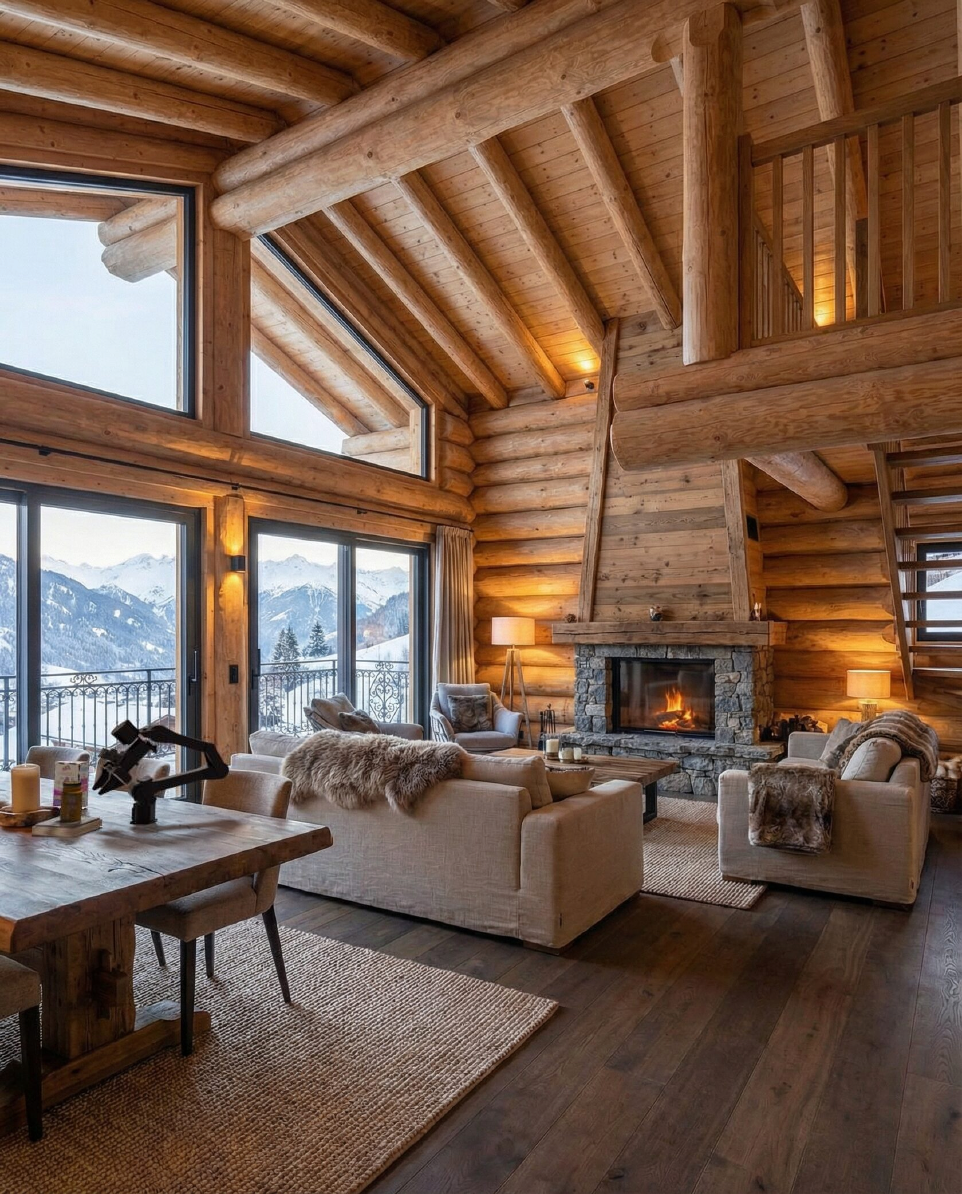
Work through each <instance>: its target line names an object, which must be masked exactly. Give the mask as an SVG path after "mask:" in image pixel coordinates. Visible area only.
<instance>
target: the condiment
mask: <svg viewBox="0 0 962 1194" xmlns="http://www.w3.org/2000/svg"><path fill="white" fill-rule="evenodd" d="M81 784H82V782H80V781H68V782H64V783H63V791H62V792H61V809H59V811H60V813H59V817H60V819H59V820H57V821H55V822H53V823H54V824H77V823H78V822H80V821H82V820H83V819H85V818H86V817H87V816H83V817H82V818H81V816H82V812H83V809H82V794H83V791H82V790H81V788H82V786H81Z"/></svg>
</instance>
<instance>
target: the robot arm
mask: <svg viewBox="0 0 962 1194" xmlns="http://www.w3.org/2000/svg"><path fill="white" fill-rule="evenodd" d="M110 735H111V736H112V737H114V738H115V740H117V741H118V742H119V743H120V744H121V745H122V746H126V745H128V746H129V747H128V748H126V749H125V750H121V751H120V752H118V749H115V748H114V747H111V748H110V749H108V748H106V747H102V748H101V750H100V752H99V754H98V758H100V759H102V760H104V761H103V762H102V763H101V764H100V765H101V766H100V775H99V776H98V778H97V779H96V781H95V783H94V784H93V786H92V787H91V790H92V791H97V790H98V789H100V790H98V792H97V794H98V795H99V796H103V795H105V794H107V793H111V792H112V791H114V790H116V789H118V788H121V787H124V786H125V785H128V786H127V793H128V795H129V796H130V797H131V798H133V801H134V803H133V804H132V807H131V817H130V819H131V820H130V821H129V824H138V825H139V824H143V825H149V824H151V823H153V822H156V821H158V818H156V808H157V807H156V806H157V805H156V804H157V803H156V802H157V800H158V798H157V796H155V795H156V794H158V793H160V792H163V791H165V790H170V789H173V788H177V787H181V786H185V785H189V784H193V783H197V782H199V781H216V780H223V779H226V777H227V776H228V775H229V772H230V767H229V764H227V763H226V762H224V760H223V758H222V756H221V754H220V753H219V750H218V749H217V748H216V744H215V743H213V742H210V741H205V740H201V739H198V738H194V737H191V736H188V735H186V734H180V733H178V732H176V731H174V730H172V729H170V728H168V727H166V726H163V725H162V724H159V723H151V724H149V725H148V726H147V727H142V728H138V727H137V726H135V725H134V724H133V723H132V721H131V720H130V719H128V718H126V719H125V720H124V721H122V722H120V724H117V725H116V726H115V727H114V728H113V729H112V730H111V732H110ZM140 736H141V737H140ZM142 737H143V738H145V739H143V738H142ZM149 740H150V741H149ZM151 741H152V742H154V743H159V744H172V745H177V746H181V747H183V748H188V749H191V750H194V751H198V752H202V754H203V756H204V759H205V762H206V763H205V764H203V765H202V766H199V767H198V768H195V769H190V770H187V771H184V772H179V773H176V774H171V775H167V776H164V777H160V778H153V777H152V776H151V775H149V774H147V775H144V776H142V777H135V779H134V780H133V778H132V777H133V775H132V774H130V773H129V772H130V771H132V770H133V769H134V767H137V766H139V765H140V761H142V760H143V759H144V758H145V757H146V755H148V754H149V752H152V753H153V754H158V749H157V748H158V745H156V744H152V742H151Z"/></svg>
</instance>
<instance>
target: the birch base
mask: <svg viewBox="0 0 962 1194" xmlns="http://www.w3.org/2000/svg"><path fill="white" fill-rule="evenodd" d="M82 817H84V816H81V818H82ZM85 817H86V818H85V819H83V820H82V821H80V822H78V823H77V824H54V823H53V822H55V821H57V820H59V819H60V816H57V817H54V818H52V819H48V820H47V819H46V820H45V821H41V822H38V823H36V824H35V825H33V826H32V829H31V830H32V831H31V834H32V835H34V836H47V837H48V836H49V837H64V838H65V837H66V838H75V837H78V836H80V835H84V834H86V833H89V832H91V830H92V831H94V830H97V829H99V828H98V827H100V826H102V827H103V818H101V817H97V816H85ZM100 828H101V827H100Z"/></svg>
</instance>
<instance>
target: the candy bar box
mask: <svg viewBox="0 0 962 1194" xmlns="http://www.w3.org/2000/svg"><path fill="white" fill-rule="evenodd" d="M89 776H90V761H82V760H80V761H79V760H78V761H77V760H60V761H55V762H54V774H53V797H52V798H53V799H52V807H53V806H61V792H62V791H63V783H64V782H68V781H80V782H82V784H81V786H82V788H81V790H82V791H83V794H82V807H86V806H89V805H88V802H89V801H88V800H89V782H90V781H89V778H90V777H89Z"/></svg>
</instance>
